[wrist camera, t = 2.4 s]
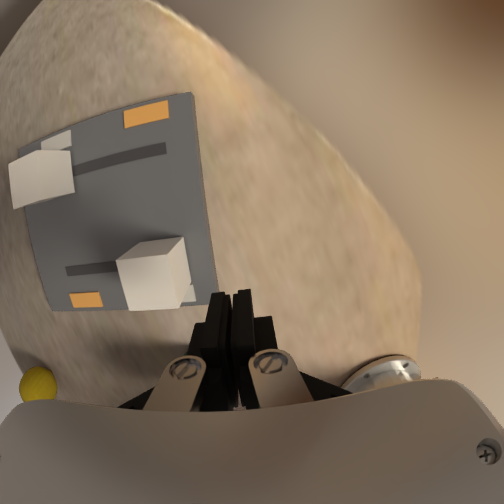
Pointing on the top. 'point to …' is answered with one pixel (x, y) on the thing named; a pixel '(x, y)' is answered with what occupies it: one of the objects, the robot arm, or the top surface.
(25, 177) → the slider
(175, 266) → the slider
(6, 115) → the top surface
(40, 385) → the lemon
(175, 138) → the switch panel
